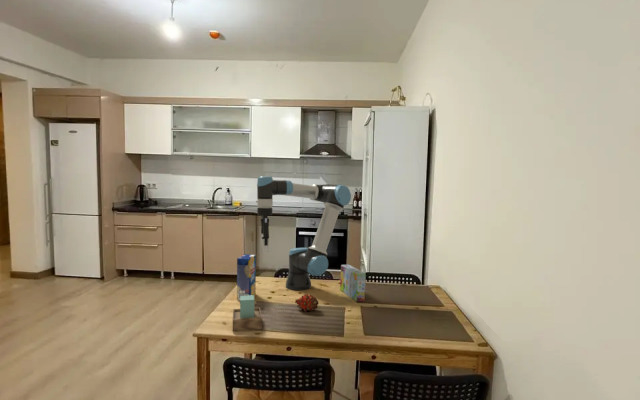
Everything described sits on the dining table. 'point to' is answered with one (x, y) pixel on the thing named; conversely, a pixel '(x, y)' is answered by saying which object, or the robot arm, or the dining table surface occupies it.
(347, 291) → the snack box
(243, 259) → the beverage box
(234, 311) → the tray
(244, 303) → the block
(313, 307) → the dragon fruit
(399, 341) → the dining table surface
